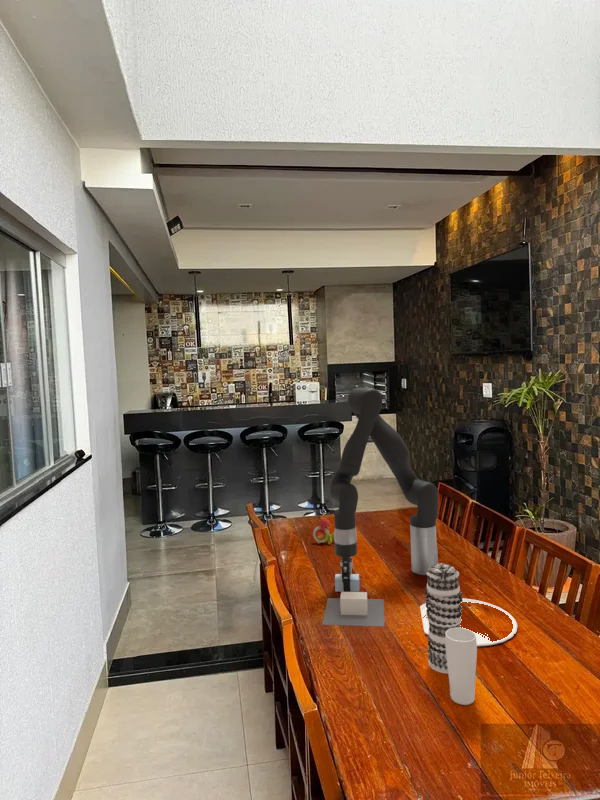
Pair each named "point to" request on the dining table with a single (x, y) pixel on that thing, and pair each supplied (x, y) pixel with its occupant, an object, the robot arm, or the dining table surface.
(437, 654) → the decorative candle
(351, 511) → the robot arm
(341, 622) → the charcoal baseplate
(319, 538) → the bird rattle
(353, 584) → the pale blue brick
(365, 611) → the cream base brick
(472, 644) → the drinking glass
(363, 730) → the dining table surface
